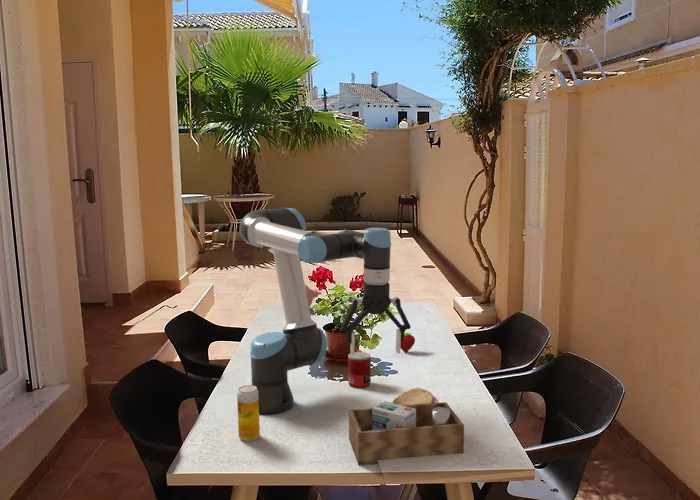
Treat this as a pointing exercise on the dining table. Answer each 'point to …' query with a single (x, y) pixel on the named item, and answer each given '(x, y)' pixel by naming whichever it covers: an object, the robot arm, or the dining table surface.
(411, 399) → the slice of bread
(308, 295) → the pink rounded piece
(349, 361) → the canned food
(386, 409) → the light bulb box
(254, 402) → the beer can
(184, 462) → the dining table surface
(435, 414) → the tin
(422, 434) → the crate
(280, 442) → the dining table surface
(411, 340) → the strawberry
